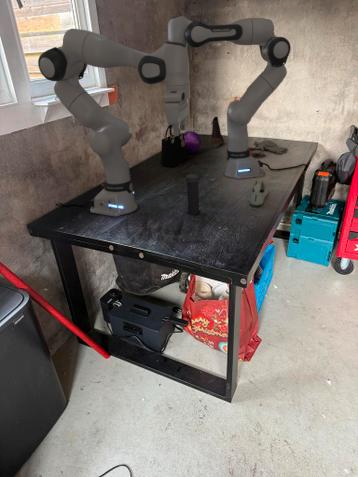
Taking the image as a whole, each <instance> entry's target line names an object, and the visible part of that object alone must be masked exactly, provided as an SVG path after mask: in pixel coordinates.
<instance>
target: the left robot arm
mask: <svg viewBox="0 0 358 477" xmlns="http://www.w3.org/2000/svg"><path fill="white" fill-rule="evenodd" d="M37 63H38V64H37V66H38V69H39V72H40V73H41V75H42V76H43V77H44V78H45V79H46V80H47V81H50V82H55V84H54V86H53V91H54V94H55V96H56V97H57V99H58V100H59V102H60V103H61V104H62V105H63V107H64V108H65V109H66V110H67V111H68V112H69V113H70V114H71V115H72V116H73V117H74V118H75V119H76V120H77V121H78V122H79V123H80V124H81V126H83V127H85V128H88V129H91V130H92V131H93V132H92V133H91V135H90V136H89V139H88V142H89V146H90V148H91V150H92V151H93V153H95V154H96V155H98V157H99V159H100V161H101V163H102V166H103V170H104V176H105V177H104V178H105V180H104V181H103V183H101V187H103V189H101V190H100V192H98V193H97V194H96V195H95V196H94V197H93V198H91V200H86V201H83V203H81V204H80V203H76V202H73V203H67V204H65V203H62V202H59V203H60V204H57V203H56V204H55V205H56V206H59V205H61V206H64V207H69V206H79V207H83V206H84V205H85V204H88V203H89V204H90V209H89V211H90V214H91V213H92V214H96V215H97V214H98V215H103V216H109V217H115V218H117V217H120V216H122V215H127V214H130V213H132V212H134V211H136V210H137V209H138V207H139V206H138V203H137V200H136V198H135V195H134V194H135V191H134V185H133V180H132V178H131V173H130V172H131V170H130V163H129V162H128V160H127V159H126V158H125V156H124V154H123V151H122V147H124V146H125V145H127V144H128V143H129V142H130V140H131V138H132V136H133V129H132V127H131V125H130V124H129V123H128V122H126V121H125V120H122V119H119V118H118V117H116V116H114V115H113V114H112V113H110V112H109V111H107V110H106V109H105V108H104V107H102V105H100V104H99V103H98V101H96V99H95V98H94V97H93V96H92V95H90V93H89V92H88V91H87V90H86V89H85V88H84V87H83V86H82V85H81V83H80V80H82V79H84V76H85V72H86V70H87V69H88V66H91V67H94V68H101V69H109V68H118V67H128V68H134V69H137V72H138V76H139V78H140V79H141V81H142V82H143V83H145V84H148V85H158V84H162V83H163V84H164V94H163V96H162V99H163V102H164V103H165V104H164V105H165V115H166V122H167V124H168V126H169V125H172V131H173V135H174V136H179V135H180V132H181V131H185V130H186V122H187V117H189V115H190V107H189V106H190V104H189V102H190V101H189V99H191V82H190V79H189V73H190V62H189V53H188V47H187V48H186V46H185V45H184V44H182V43H179V42H171V41H169V40H168V41H165V42H164V43H163V44H162V45H161V46H160V47H159V48H158V49H156V50H154V51H153V52H146V51H143V50H139V49H136V48H134V47H133V48H132V47H129V46H127V45H125V44H122V43H121V42H118V41H116V40H113V39H111V38H110V37H107V36H106V35H103V34H100V33H97V32H94V31H91V30H86V29H82V28H69V29H67V30H66V32H64V34H63V38H62V45H61V46H58V47H57V46H54V47H52V48H50V49H47V50H45V51H44V52H42V53H41V54H40V55H39V57H38V61H37ZM179 129H180V130H179Z"/></svg>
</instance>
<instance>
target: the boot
mask: <svg viewBox="0 0 358 477" xmlns="http://www.w3.org/2000/svg"><path fill="white" fill-rule="evenodd" d="M211 125H212V126H211V127H212V129H211V130H212V131H211V134H210V135H211V143H212V146H213V148H214V149H215V148H218V147H219V146H221V145H222V144H224V143H225V139H224V137H223V135H222V133H221V128H220V122H219V116H214V117H213V118H212V121H211Z"/></svg>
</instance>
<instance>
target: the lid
mask: <svg viewBox="0 0 358 477" xmlns="http://www.w3.org/2000/svg"><path fill="white" fill-rule="evenodd" d="M185 181H186V183H187V182H190V183H194V182H198V183H199V181H200V175H199V174H197V173H189V174H186V176H185Z"/></svg>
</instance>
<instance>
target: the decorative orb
mask: <svg viewBox="0 0 358 477" xmlns="http://www.w3.org/2000/svg"><path fill="white" fill-rule="evenodd" d="M183 133H184V138H185V142H186V143H185V145H186V152H187V154H194V153H196V152H197V151H198V150H199V149H200V147H201V145H202V140H201V137H200V135H199V134H198V133H197V132H195V131H192V130H187V131H185V132H183Z"/></svg>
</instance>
